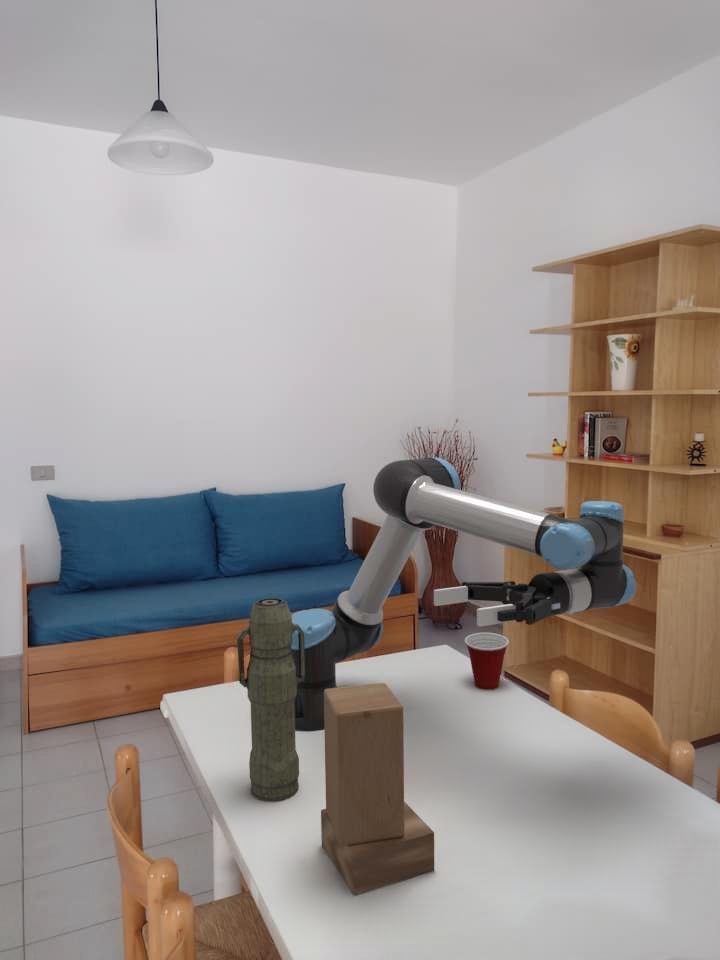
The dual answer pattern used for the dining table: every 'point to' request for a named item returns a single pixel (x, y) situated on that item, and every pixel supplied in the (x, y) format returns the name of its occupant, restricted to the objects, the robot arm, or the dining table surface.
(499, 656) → the plastic cup
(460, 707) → the dining table surface
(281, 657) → the thermos
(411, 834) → the walnut pedestal block
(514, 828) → the dining table surface
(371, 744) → the wooden block
